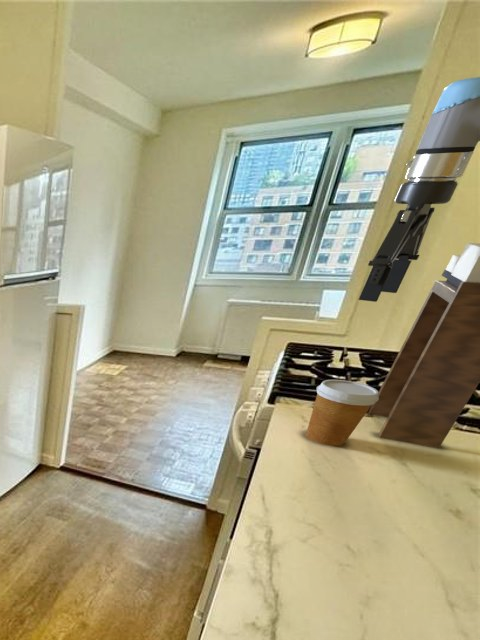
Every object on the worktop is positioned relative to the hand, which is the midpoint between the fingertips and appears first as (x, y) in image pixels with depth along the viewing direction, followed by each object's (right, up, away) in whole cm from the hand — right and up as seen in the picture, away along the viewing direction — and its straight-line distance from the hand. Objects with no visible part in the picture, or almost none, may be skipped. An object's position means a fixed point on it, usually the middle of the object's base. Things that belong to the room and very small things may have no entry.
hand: (377, 296), depth 101 cm
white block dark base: (+14, +1, -4) cm, 15 cm away
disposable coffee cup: (-10, -30, +2) cm, 32 cm away
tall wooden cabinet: (+10, -28, +5) cm, 30 cm away
